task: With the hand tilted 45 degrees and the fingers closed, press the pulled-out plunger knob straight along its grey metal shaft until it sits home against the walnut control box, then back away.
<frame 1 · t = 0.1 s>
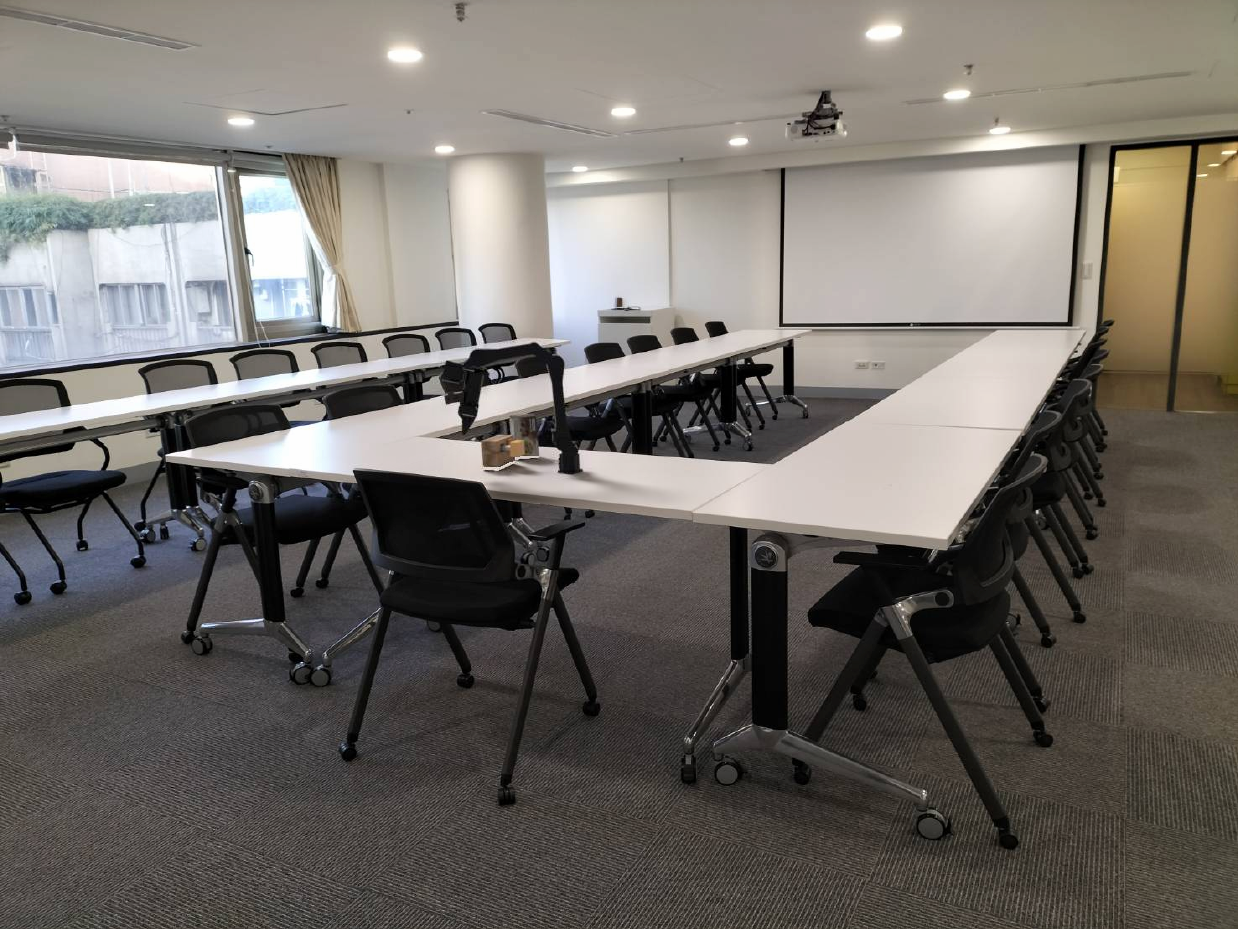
hand: (464, 432, 290), 15 cm above the table, tool pointing down, fingers open, 9 cm apart
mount: (499, 467, 310), on the table
coffee box: (525, 458, 325), on the table
knob: (511, 448, 304), point 7 cm above the table, slide at 4.0 cm
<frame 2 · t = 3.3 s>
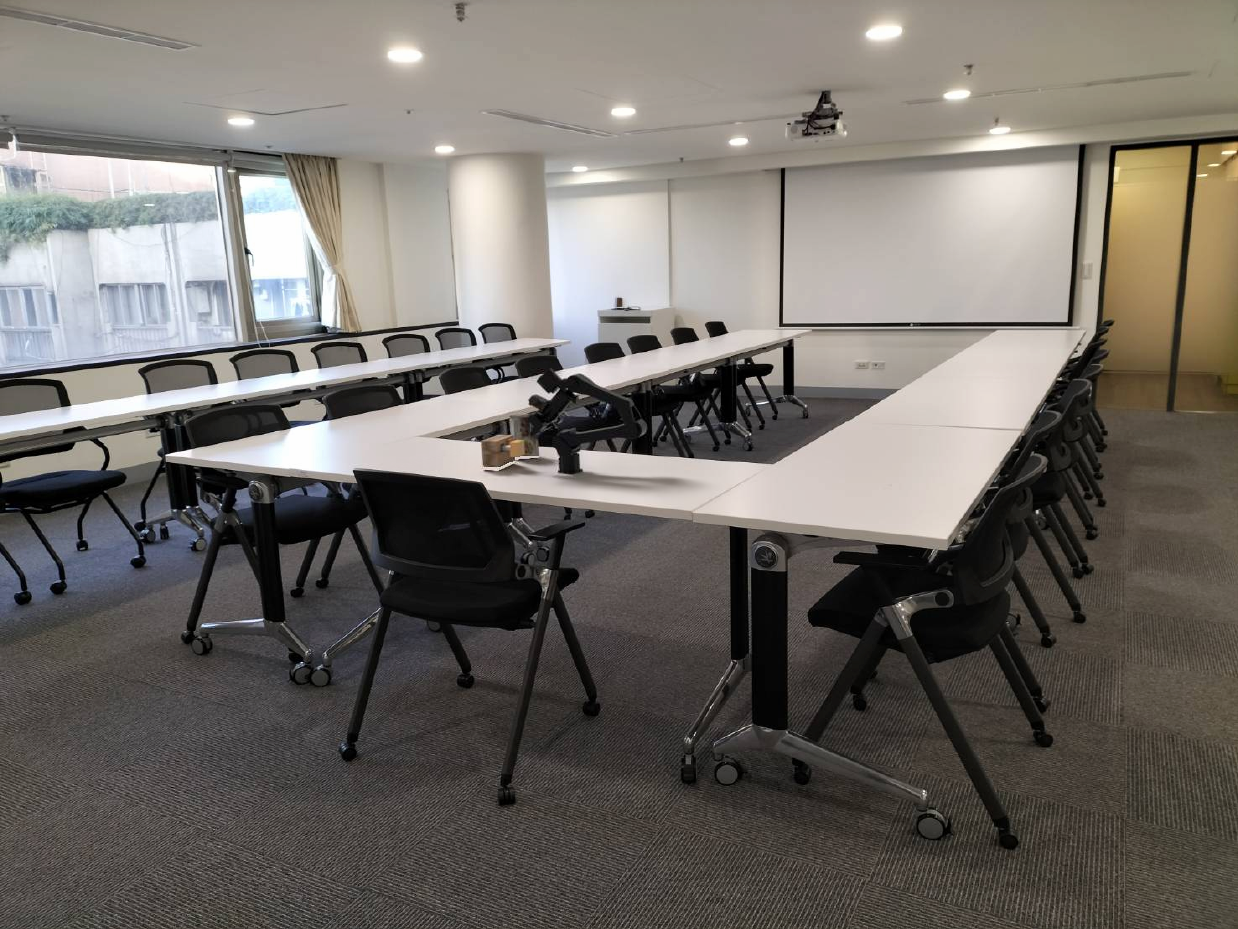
hand: (531, 435, 300), 12 cm above the table, tool tilted 45°, fingers closed
nothing on the table moved.
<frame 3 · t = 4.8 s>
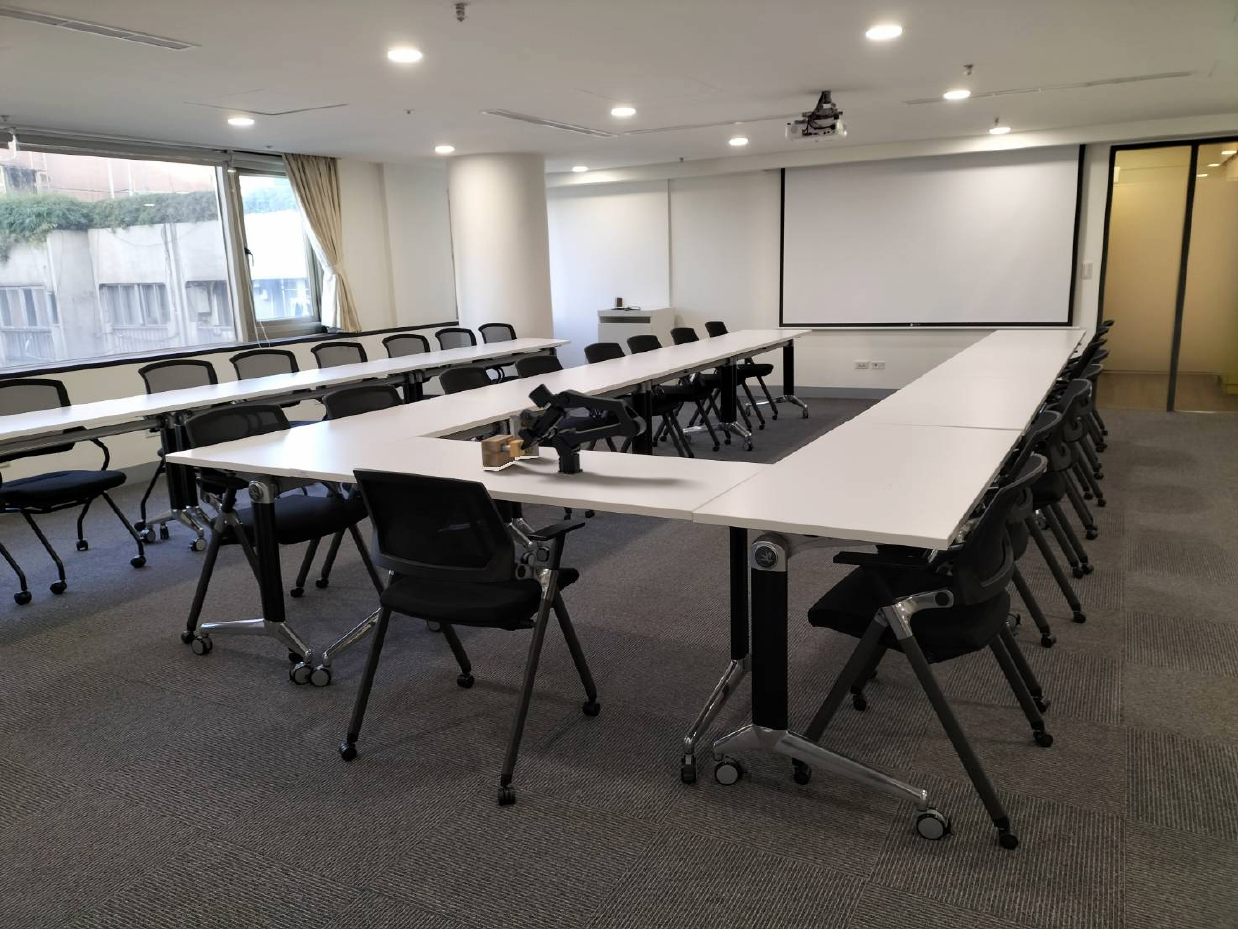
hand: (521, 449, 302), 7 cm above the table, tool tilted 45°, fingers closed, pressing on knob
knob: (511, 448, 304), point 7 cm above the table, slide at 4.0 cm, touching gripper
everything else where it was.
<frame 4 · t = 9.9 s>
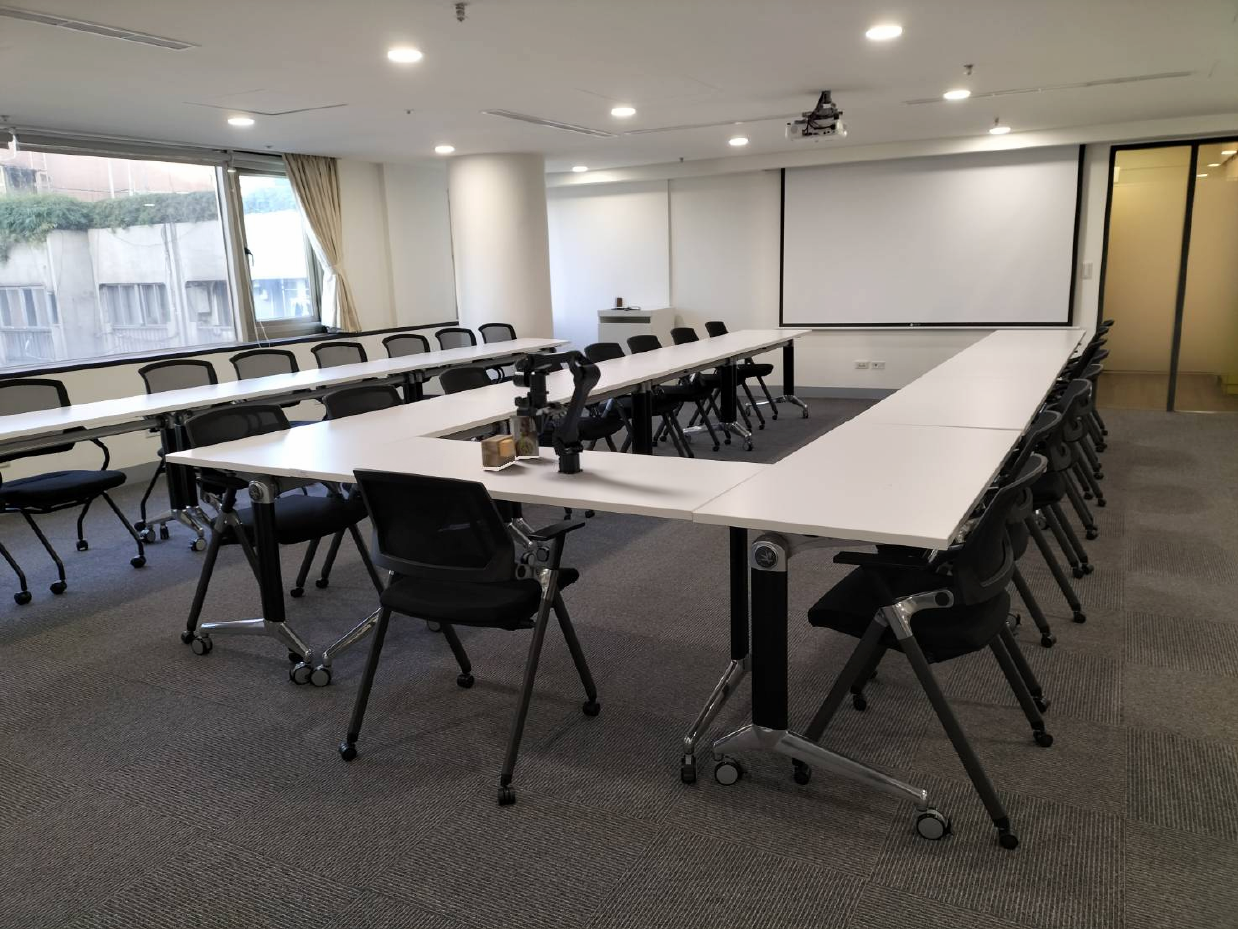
hand: (540, 433, 305), 12 cm above the table, tool pointing down, fingers closed
knob: (501, 447, 305), point 7 cm above the table, slide at 0.0 cm
everything else where it was.
at the end: knob slide at 0.0 cm; knob touching nothing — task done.
